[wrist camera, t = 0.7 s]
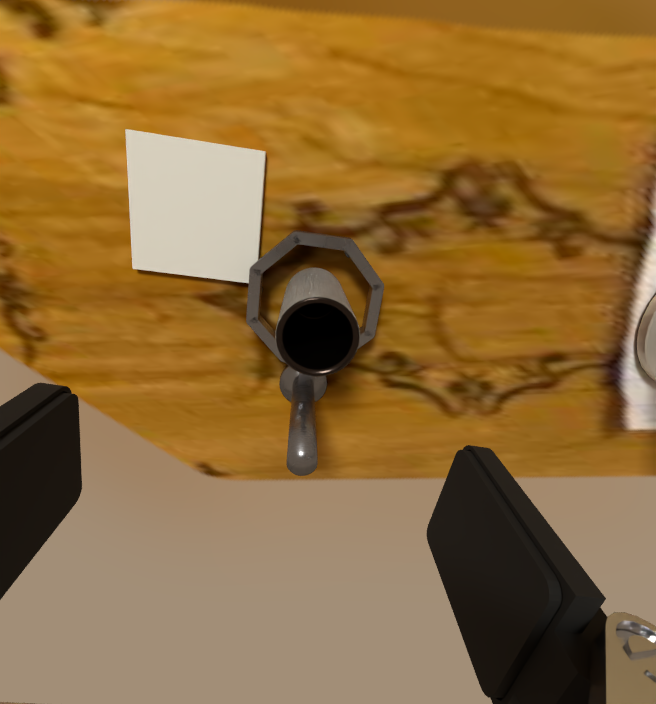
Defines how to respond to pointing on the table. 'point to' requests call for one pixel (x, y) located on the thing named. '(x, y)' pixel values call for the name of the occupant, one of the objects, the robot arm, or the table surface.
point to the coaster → (194, 206)
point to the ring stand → (292, 383)
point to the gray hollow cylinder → (316, 324)
